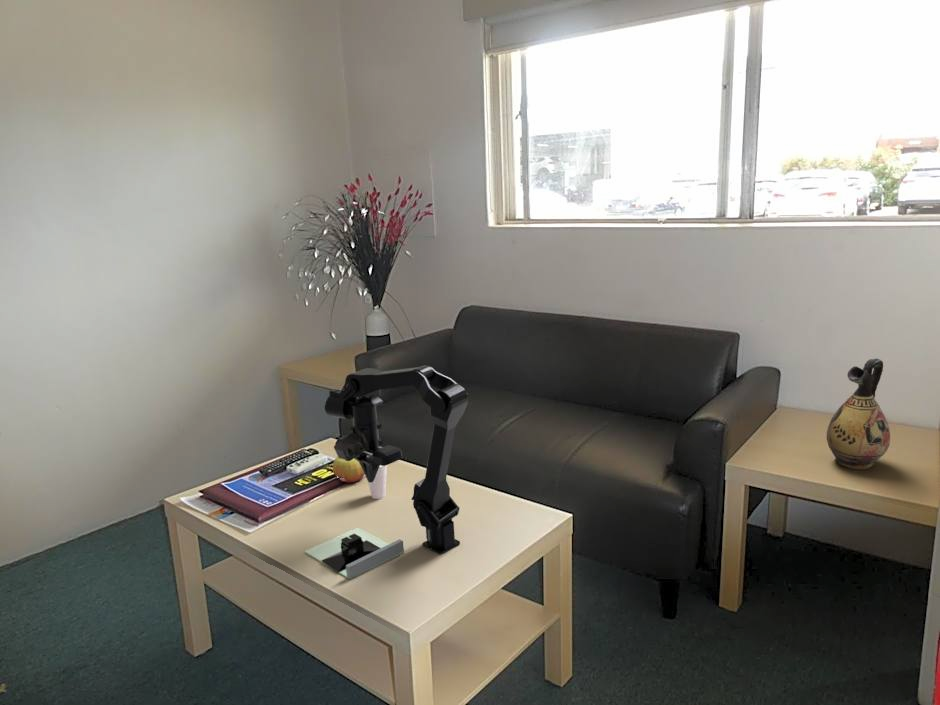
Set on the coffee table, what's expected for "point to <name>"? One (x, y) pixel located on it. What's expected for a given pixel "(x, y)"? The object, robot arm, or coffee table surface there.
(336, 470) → the apple
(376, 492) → the smoothie
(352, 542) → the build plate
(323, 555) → the base plate
